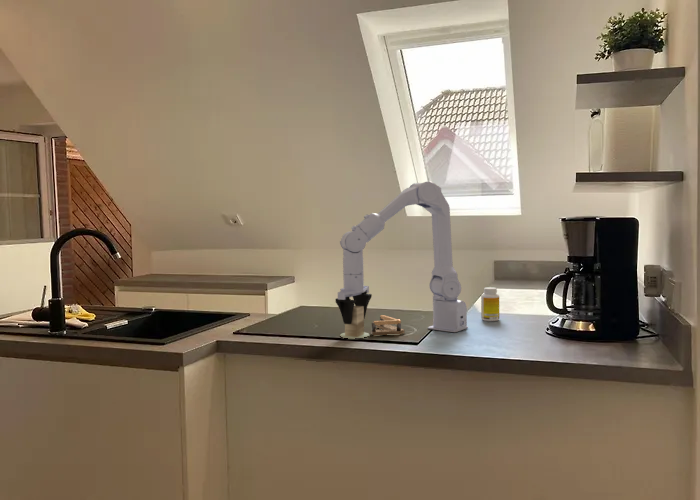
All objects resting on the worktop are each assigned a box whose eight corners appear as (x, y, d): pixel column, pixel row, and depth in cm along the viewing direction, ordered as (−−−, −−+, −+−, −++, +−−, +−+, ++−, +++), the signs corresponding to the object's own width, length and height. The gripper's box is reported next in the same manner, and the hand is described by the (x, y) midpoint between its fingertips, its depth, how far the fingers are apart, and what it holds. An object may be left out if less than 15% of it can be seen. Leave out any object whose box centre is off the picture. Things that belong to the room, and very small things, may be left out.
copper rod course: (413, 331, 171) (413, 317, 170) (389, 339, 162) (389, 324, 161) (382, 326, 178) (381, 313, 178) (357, 333, 169) (356, 319, 169)
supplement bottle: (502, 321, 183) (502, 288, 182) (486, 322, 182) (486, 289, 181) (494, 317, 188) (494, 286, 187) (478, 319, 187) (478, 287, 186)
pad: (375, 335, 167) (375, 334, 167) (356, 340, 161) (356, 339, 160) (352, 331, 172) (352, 330, 172) (333, 336, 166) (333, 335, 166)
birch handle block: (364, 334, 167) (363, 306, 167) (357, 336, 164) (356, 308, 163) (352, 332, 169) (351, 305, 169) (345, 335, 166) (344, 307, 165)
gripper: (353, 270, 173) (354, 315, 174) (327, 276, 161) (328, 324, 162) (374, 271, 170) (375, 317, 171) (349, 277, 157) (350, 326, 158)
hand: (354, 321), depth 166 cm, fingers open, 7 cm apart
